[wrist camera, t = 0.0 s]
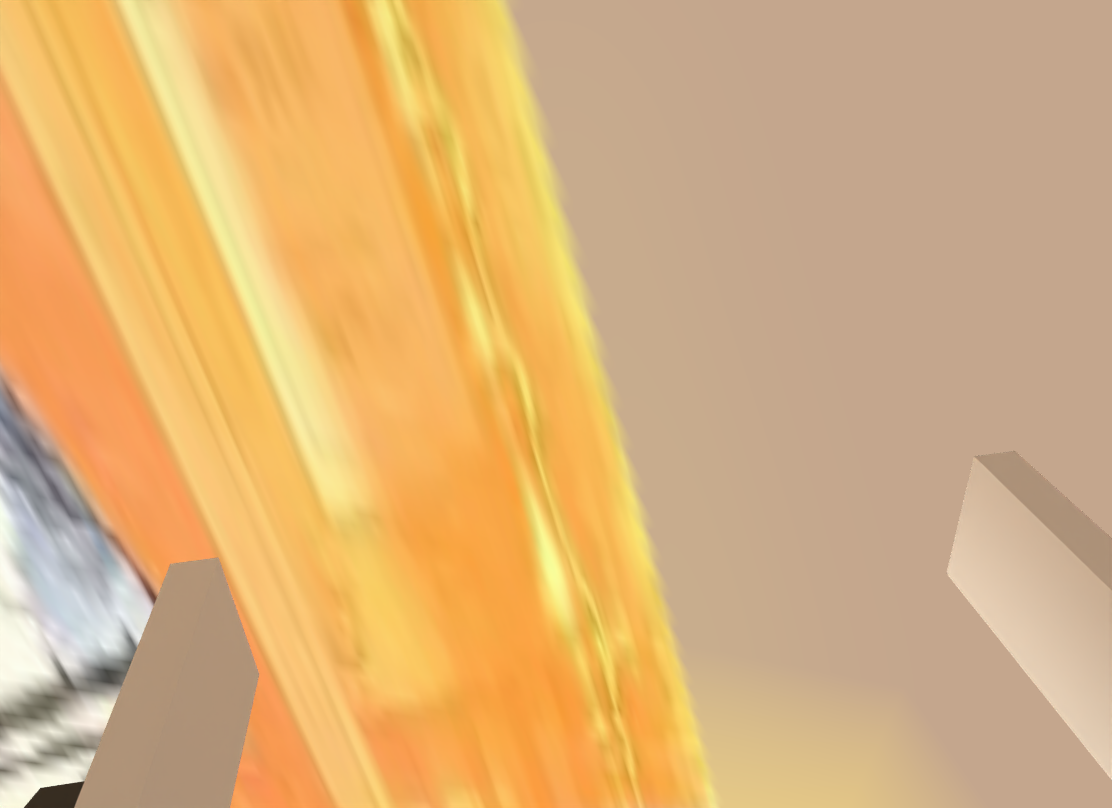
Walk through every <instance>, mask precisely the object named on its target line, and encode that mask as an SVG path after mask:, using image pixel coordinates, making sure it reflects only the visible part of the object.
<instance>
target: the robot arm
mask: <svg viewBox="0 0 1112 808" xmlns="http://www.w3.org/2000/svg"><path fill="white" fill-rule="evenodd" d="M947 575H948V576H949V577H950V578H951V580H952V581H953V582H954V583H955V585H956V586H957V587H958V588H959V589H960V591H961V592H962V593H963V595H964V596H965V597H966V598H967V599H968V601H969V602H970V603H971V605H972V606H973V607H974V608H975V609H976V611H977V612H978V613H979V615H980V616H981V617H982V618H983V619H984V621H985V622H986V623H987V624H988V626H989V627H990V628H991V629H992V631H993V632H994V633H995V634H996V636H997V637H998V638H999V640H1000V641H1001V642H1002V643H1003V645H1004V646H1005V647H1006V648H1007V650H1008V651H1009V652H1010V653H1011V655H1012V656H1013V657H1014V658H1015V660H1016V661H1017V662H1018V663H1019V665H1020V666H1021V667H1022V668H1023V670H1024V671H1025V672H1026V673H1027V675H1028V676H1029V677H1030V678H1031V680H1032V681H1033V682H1034V683H1035V685H1036V686H1037V687H1038V688H1039V690H1040V691H1041V692H1042V693H1043V695H1044V696H1045V697H1046V698H1047V700H1048V701H1049V702H1050V703H1051V705H1052V706H1053V707H1054V708H1055V710H1056V711H1057V712H1058V713H1059V715H1060V716H1061V717H1062V719H1063V720H1064V721H1065V722H1066V724H1067V725H1068V726H1069V727H1070V728H1071V730H1072V731H1073V732H1074V734H1075V735H1076V736H1077V737H1078V738H1079V740H1080V741H1081V742H1082V743H1083V745H1084V746H1085V747H1086V749H1087V750H1088V751H1089V752H1090V754H1091V755H1092V756H1093V757H1094V759H1095V760H1096V761H1097V762H1098V764H1099V765H1100V766H1101V767H1102V769H1103V770H1104V771H1105V772H1106V773H1107V775H1108V776H1109V777H1110V779H1111V780H1112V538H1111V537H1110V536H1109V535H1108V534H1107V533H1105V532H1104V531H1103V530H1102V529H1101V528H1100V527H1099V526H1098V525H1097V524H1095V523H1094V522H1093V521H1092V520H1091V519H1090V518H1089V517H1088V516H1087V515H1085V514H1084V513H1083V512H1082V511H1081V510H1080V509H1079V508H1078V507H1076V506H1075V505H1074V504H1073V503H1072V502H1071V501H1070V500H1069V499H1068V498H1067V497H1065V496H1064V495H1063V494H1062V493H1061V492H1060V491H1059V490H1058V489H1057V488H1055V487H1054V486H1053V485H1052V484H1051V483H1050V482H1049V481H1048V480H1047V479H1045V478H1044V477H1043V476H1042V475H1041V474H1040V473H1039V472H1038V471H1036V470H1035V469H1034V468H1033V467H1032V466H1031V465H1030V464H1029V463H1028V462H1027V461H1025V460H1024V459H1023V458H1022V457H1021V456H1020V455H1019V454H1018V453H1016V452H1015V451H1011V452H1003V453H996V454H989V455H981V456H975V457H974V460H973V464H972V468H971V472H970V477H969V481H968V485H967V489H966V493H965V498H964V502H963V507H962V510H961V515H960V519H959V523H958V528H957V532H956V536H955V540H954V545H953V549H952V553H951V557H950V562H949V566H948V570H947ZM258 677H259V672H258V669H257V666H256V663H255V661H254V658H253V655H252V652H251V649H250V646H249V643H248V641H247V638H246V635H245V632H244V629H243V626H242V623H241V621H240V618H239V615H238V612H237V609H236V606H235V603H234V601H233V598H232V595H231V592H230V589H229V586H228V584H227V581H226V578H225V575H224V572H223V569H222V566H221V564H220V561H219V558H211V559H204V560H197V561H189V562H182V563H174V564H170V566H169V569H168V571H167V574H166V577H165V579H164V582H163V584H162V587H161V589H160V592H159V594H158V597H157V599H156V602H155V604H154V607H153V609H152V612H151V614H150V617H149V620H148V622H147V625H146V627H145V630H144V632H143V635H142V637H141V640H140V642H139V645H138V647H137V650H136V652H135V655H134V658H133V660H132V663H131V665H130V668H129V670H128V673H127V675H126V678H125V680H124V683H123V685H122V688H121V690H120V693H119V696H118V698H117V701H116V703H115V706H114V708H113V711H112V713H111V716H110V718H109V721H108V723H107V726H106V728H105V731H104V733H103V736H102V739H101V741H100V744H99V746H98V749H97V751H96V754H95V756H94V759H93V761H92V764H91V766H90V769H89V771H88V774H87V777H86V779H85V781H83V782H77V783H70V784H64V785H57V786H51V787H44V788H40V789H39V790H38V792H37V793H36V794H35V795H34V796H33V798H32V799H31V800H30V801H29V802H28V803H27V805H26V806H25V807H24V808H230V805H231V800H232V795H233V791H234V786H235V782H236V777H237V773H238V768H239V764H240V759H241V754H242V750H243V745H244V741H245V736H246V732H247V727H248V723H249V718H250V713H251V709H252V704H253V700H254V695H255V691H256V686H257V682H258Z"/></svg>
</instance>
